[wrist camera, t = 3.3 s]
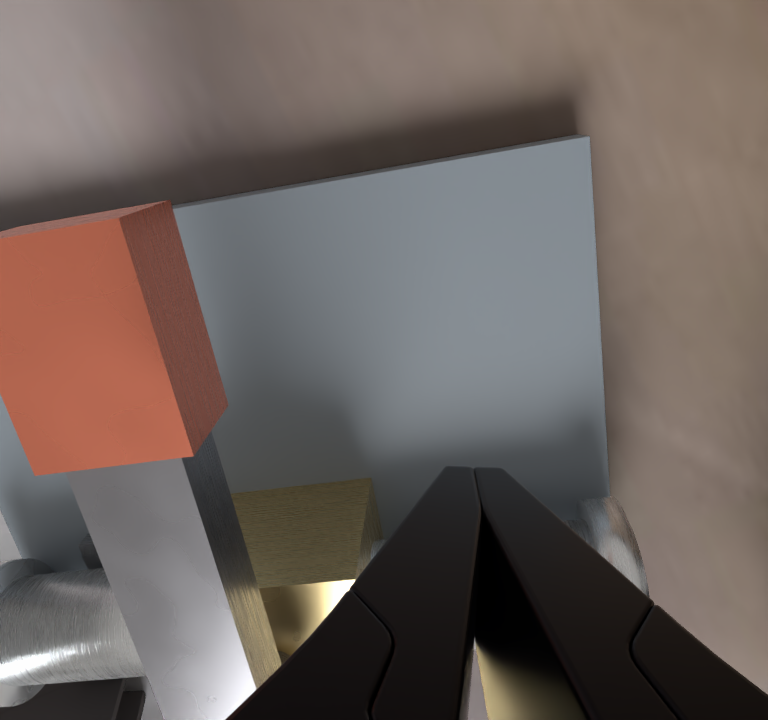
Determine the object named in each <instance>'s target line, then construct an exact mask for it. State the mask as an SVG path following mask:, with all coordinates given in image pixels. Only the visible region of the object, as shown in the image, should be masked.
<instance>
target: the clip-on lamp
mask: <svg viewBox="0 0 768 720" xmlns="http://www.w3.org/2000/svg"><path fill="white" fill-rule="evenodd" d="M125 682H126V678H116V679H103V680H90V681H78V682H65V683H53V684H45V685H44V686H43V688H42V689H41V690H40V691H39V692H38V693H37V694H36V695H35V696H34V697H32V698H31V699H29V700H28V701H26V702H24V703H22V704H20V705H16V706H10V707H0V720H141V716H142V712H143V707H144V703H145V695H144V692H143V691H132V692H123V689H124V685H125Z"/></svg>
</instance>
